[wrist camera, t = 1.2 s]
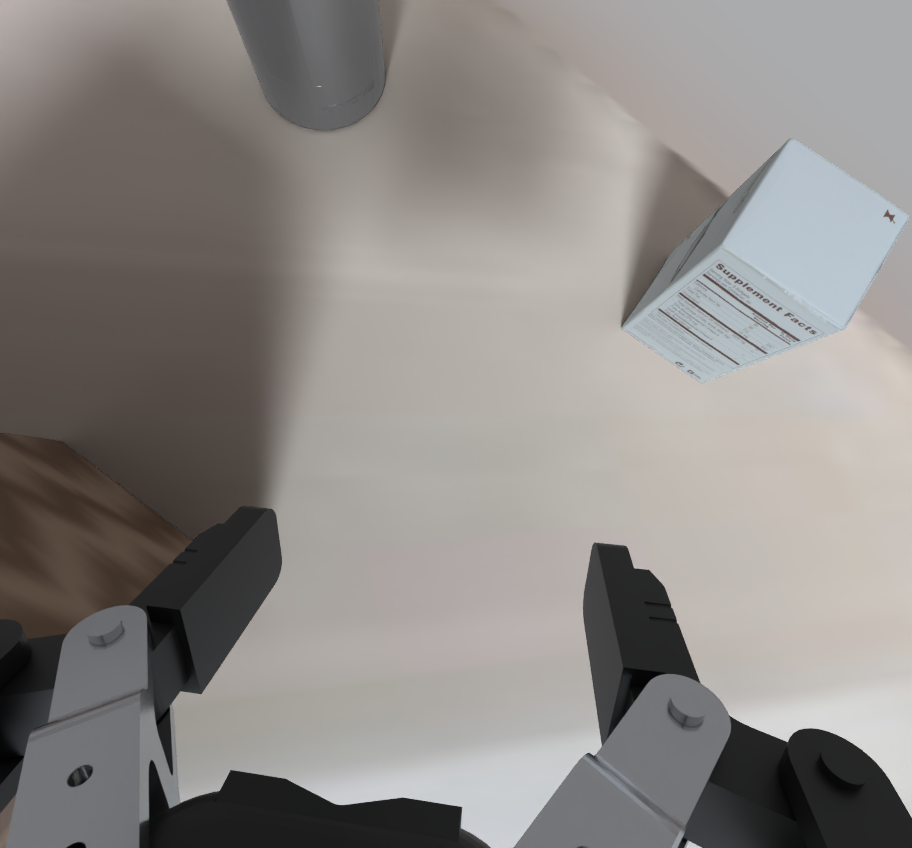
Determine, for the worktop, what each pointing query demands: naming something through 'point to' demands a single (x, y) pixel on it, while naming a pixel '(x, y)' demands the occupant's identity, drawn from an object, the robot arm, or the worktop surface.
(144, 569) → the walnut stand
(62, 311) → the worktop surface
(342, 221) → the worktop surface
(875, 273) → the supplement box
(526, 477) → the worktop surface
